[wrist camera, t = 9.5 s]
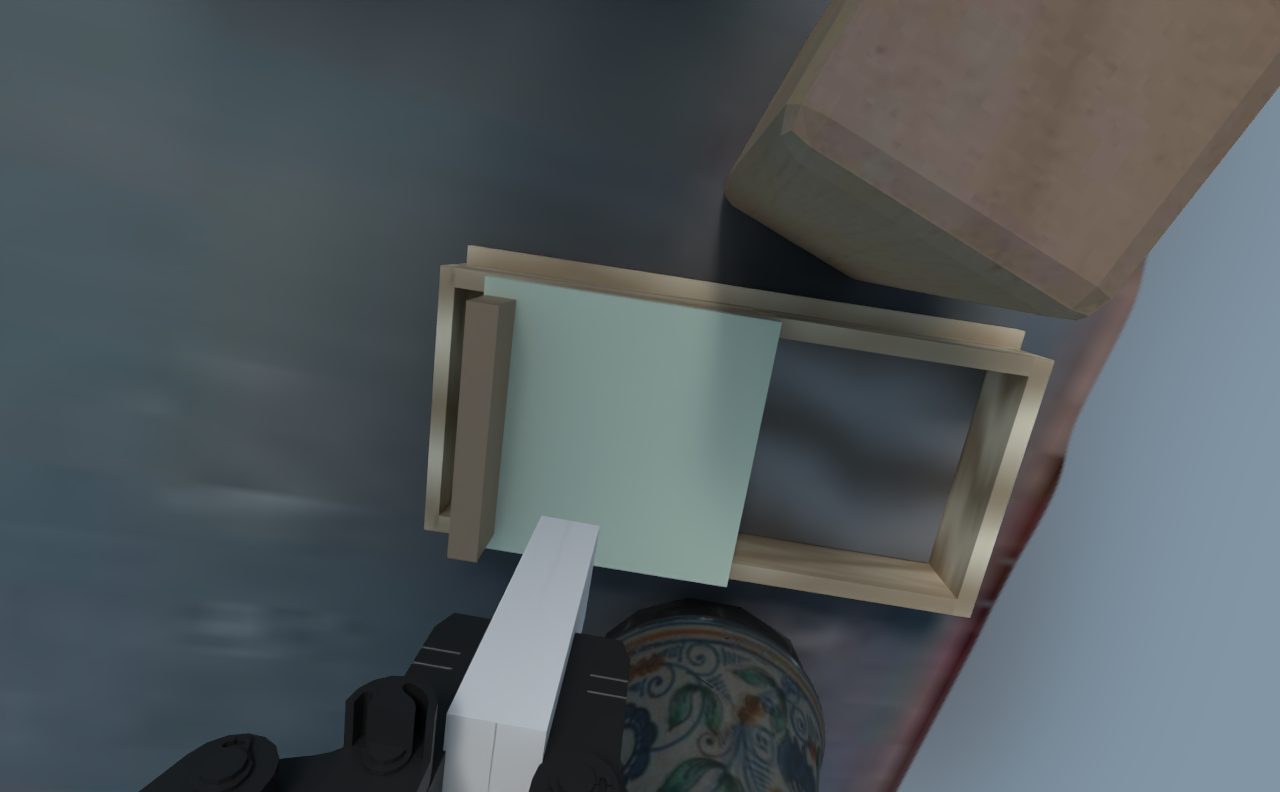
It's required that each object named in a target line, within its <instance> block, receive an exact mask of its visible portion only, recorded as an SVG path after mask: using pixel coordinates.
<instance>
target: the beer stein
mask: <svg viewBox="0 0 1280 792" xmlns="http://www.w3.org/2000/svg"><path fill="white" fill-rule="evenodd" d="M605 638H609V639H614V640H620V641H623V643H624V646H625V648H626V650H627V653H628V655H629V657H630V659H631V661H630V670H629V680H628V690H627V698H626V710H625V719H624V729H623V739H622V749H621V759H620V771H621V776H622V780H623V783H624V785H625V787H626V789H627V790H628V792H818V789H819V773H820V769H821V765H822V762H823V756H824V748H825V724H824V719H823V713H822V708H821V704H820V701H819V698H818V696H817V693H816V691H815V689H814V686H813V684H812V683H811V681H810V679H809V678H808V676H807V675H806V673H805V671H804V670H803V668H802V665H801V663H800V661H799V659H798V657H797V654H796V652H795V650H794V648H793V645H792V643H791V641H790V640H789V639H788V638H786V637H785V636H783V635H782V634H780V633H779V632H777V631H776V630H774V629H773V628H771V627H770V626H768V625H767V624H765V623H764V622H762V621H761V620H759V619H758V618H756V617H755V616H753V615H752V614H750V613H748V612H747V611H745V610H744V609H742V608H741V607H736V606H730V605H724V604H719V603H713V602H707V601H702V600H696V599H690V598H686V599H682V600H678V601H674V602H670V603H666V604H662V605H658V606H654V607H650V608H646V609H642V610H638V611H637V612H636V613H634V614H633V615H632V616H630V617H629V618H627V619H626V620H625V621H623V622H622V623H621V624H619V625H618V626H617V627H615V628H614V629H613V630H611V631H610V632H609V633H607V635H606V637H605Z"/></svg>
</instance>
